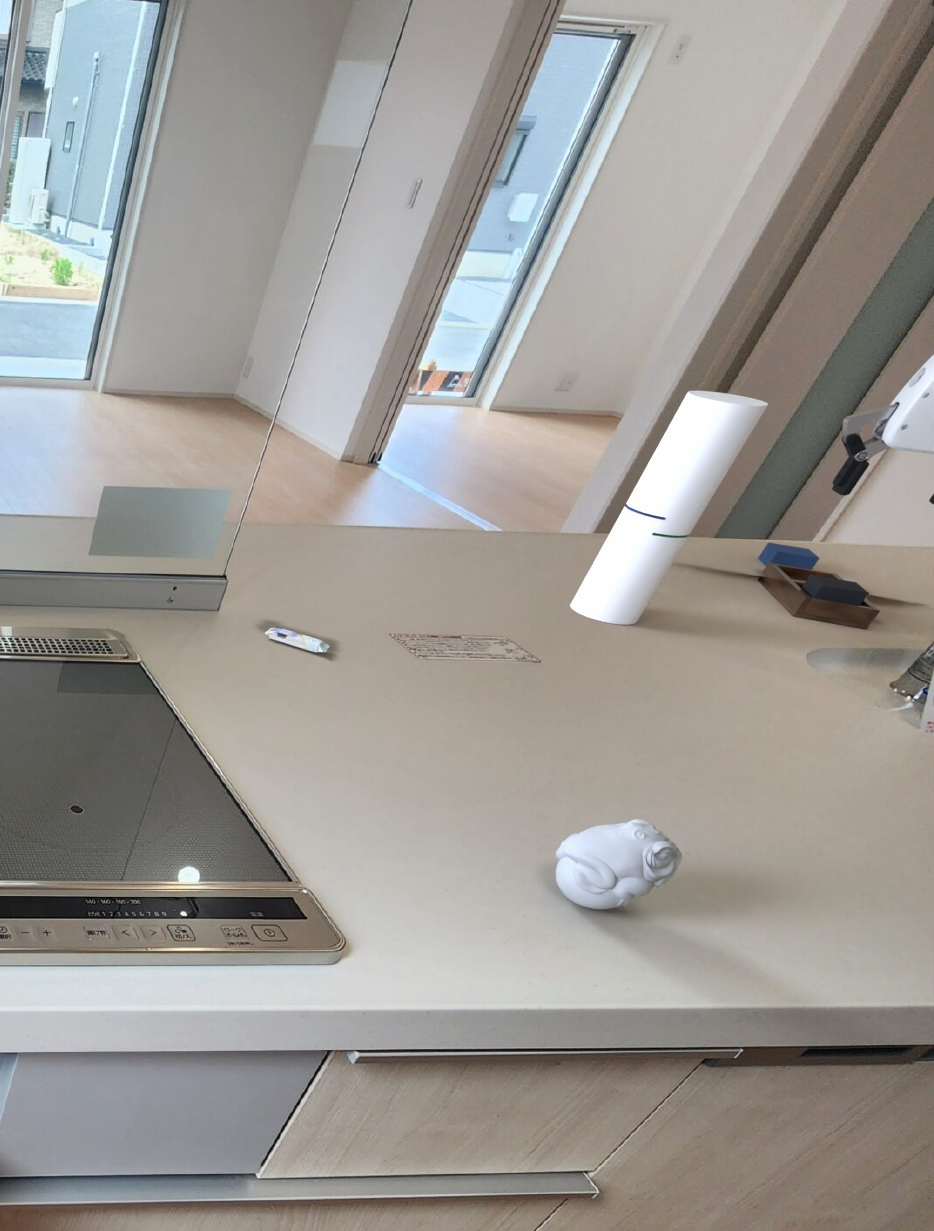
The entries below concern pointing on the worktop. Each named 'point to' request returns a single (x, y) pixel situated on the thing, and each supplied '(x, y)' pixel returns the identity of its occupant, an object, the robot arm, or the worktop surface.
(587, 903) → the frog figurine
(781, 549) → the pad blue
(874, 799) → the worktop surface
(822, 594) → the pad charcoal
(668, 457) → the cylindrical container
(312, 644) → the granola bar
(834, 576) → the holder
